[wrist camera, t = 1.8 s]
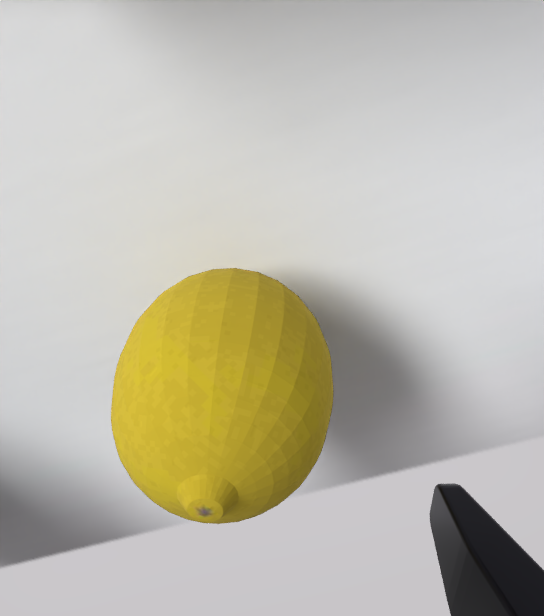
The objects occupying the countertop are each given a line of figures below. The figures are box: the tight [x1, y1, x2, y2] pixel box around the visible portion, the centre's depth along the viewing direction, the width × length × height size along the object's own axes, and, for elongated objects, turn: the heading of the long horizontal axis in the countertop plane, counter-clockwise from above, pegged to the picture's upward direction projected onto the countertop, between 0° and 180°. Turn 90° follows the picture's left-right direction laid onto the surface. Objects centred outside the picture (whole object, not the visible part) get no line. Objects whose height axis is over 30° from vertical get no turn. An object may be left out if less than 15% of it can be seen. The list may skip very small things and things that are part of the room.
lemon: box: [111, 268, 333, 524], centre depth 12 cm, size 6×6×8 cm
